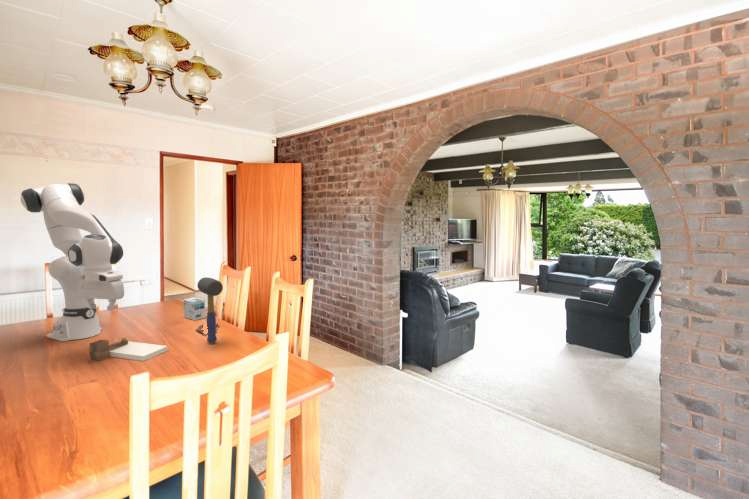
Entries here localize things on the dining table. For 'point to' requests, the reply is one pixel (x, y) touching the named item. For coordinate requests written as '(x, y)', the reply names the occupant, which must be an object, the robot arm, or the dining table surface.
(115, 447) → the dining table surface
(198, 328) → the wooden fragment
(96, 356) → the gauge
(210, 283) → the rubber mallet
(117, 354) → the board
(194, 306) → the light bulb box
